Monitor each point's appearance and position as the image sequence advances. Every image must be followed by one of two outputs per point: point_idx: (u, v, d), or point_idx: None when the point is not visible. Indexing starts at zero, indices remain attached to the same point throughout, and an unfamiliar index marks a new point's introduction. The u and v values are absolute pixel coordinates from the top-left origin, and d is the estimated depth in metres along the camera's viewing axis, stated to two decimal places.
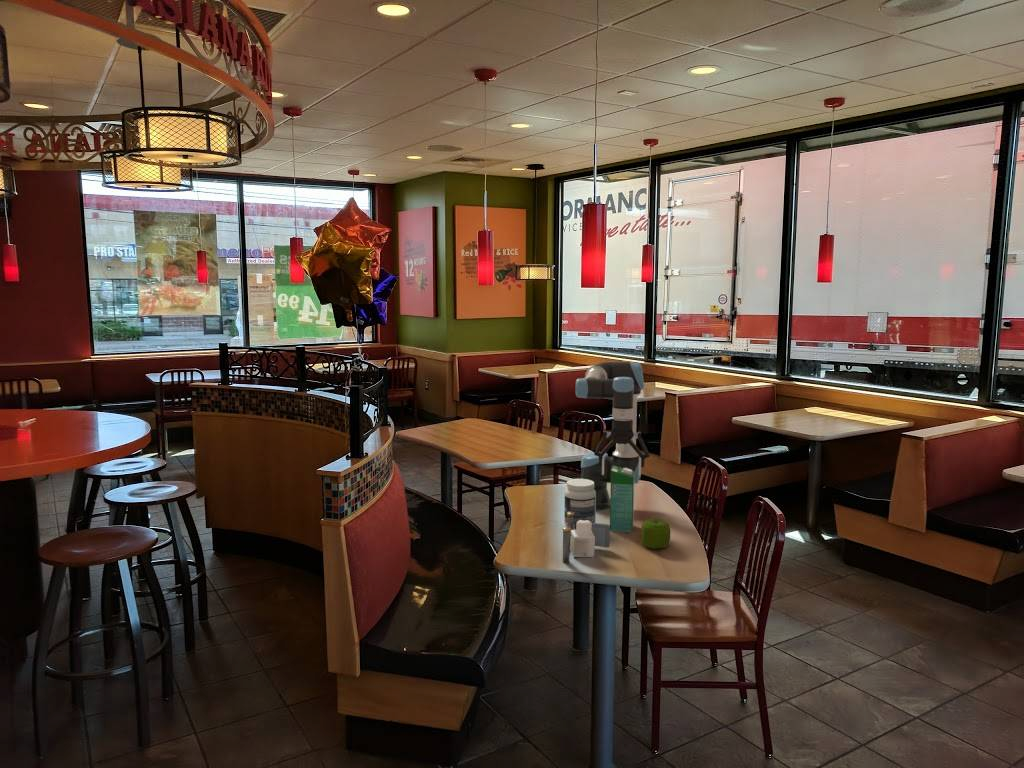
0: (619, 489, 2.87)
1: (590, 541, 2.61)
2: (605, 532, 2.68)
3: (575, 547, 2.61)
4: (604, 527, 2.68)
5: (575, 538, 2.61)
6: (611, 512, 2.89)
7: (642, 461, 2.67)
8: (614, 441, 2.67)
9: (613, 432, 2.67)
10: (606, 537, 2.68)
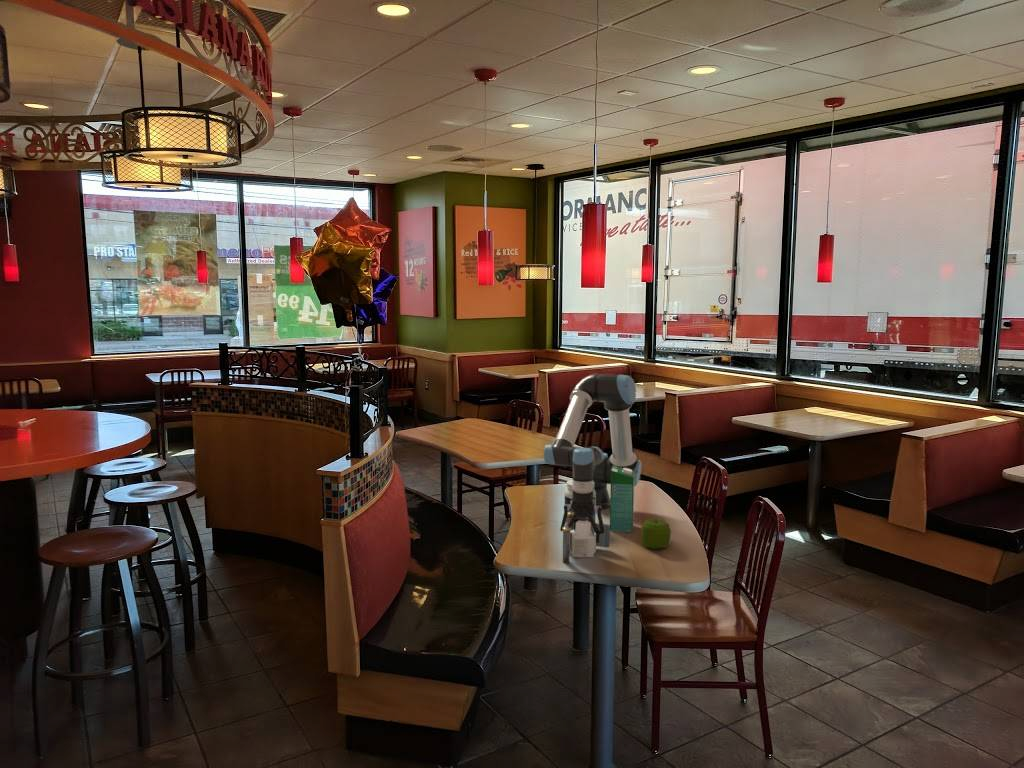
0: (619, 489, 2.87)
1: (590, 542, 2.61)
2: (605, 532, 2.68)
3: (575, 547, 2.61)
4: (604, 527, 2.68)
5: (574, 538, 2.61)
6: (611, 512, 2.89)
7: (597, 537, 2.63)
8: (576, 514, 2.62)
9: (573, 504, 2.63)
10: (606, 537, 2.68)
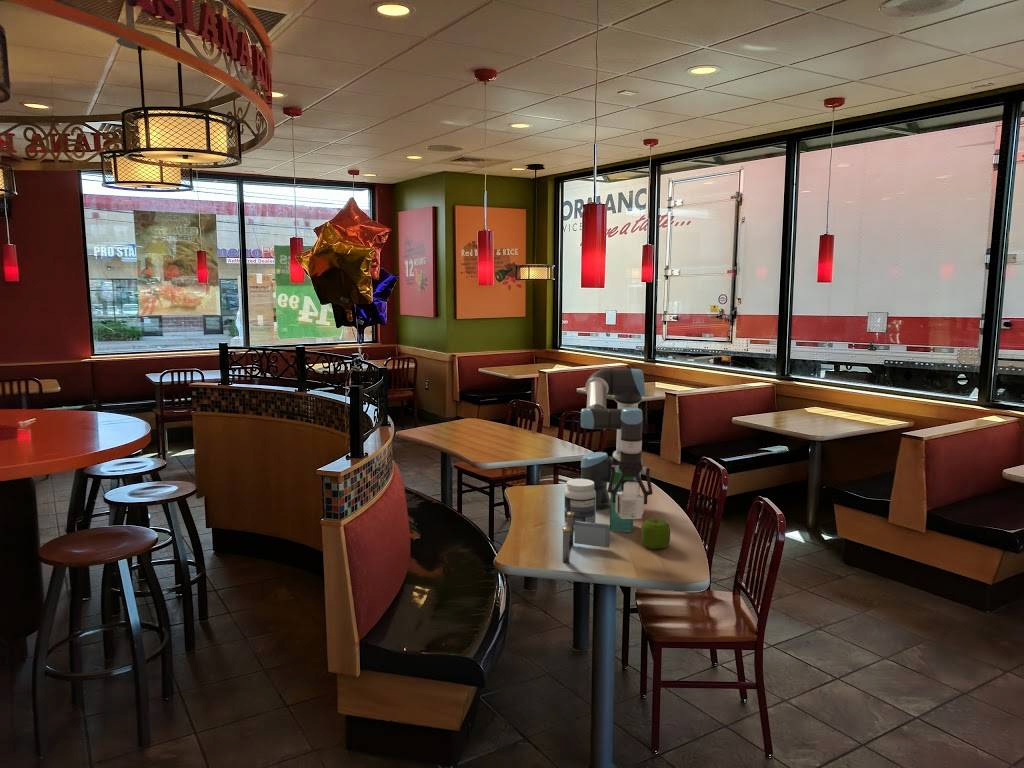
0: (619, 489, 2.87)
1: (638, 503, 2.57)
2: (605, 532, 2.68)
3: (623, 509, 2.57)
4: (604, 527, 2.68)
5: (623, 500, 2.57)
6: (611, 512, 2.89)
7: (645, 498, 2.59)
8: (624, 475, 2.58)
9: (621, 465, 2.59)
10: (606, 537, 2.68)
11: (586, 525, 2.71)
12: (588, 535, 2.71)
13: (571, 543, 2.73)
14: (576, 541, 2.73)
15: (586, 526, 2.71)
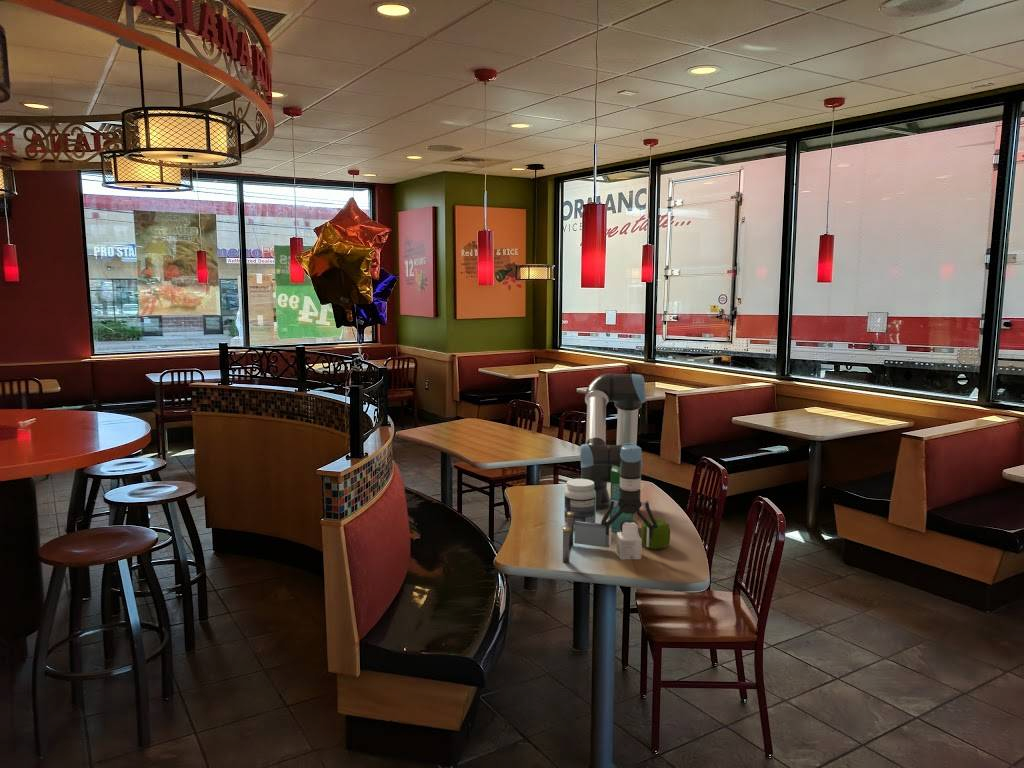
0: (619, 489, 2.87)
1: (637, 544, 2.60)
2: (605, 532, 2.68)
3: (622, 550, 2.60)
4: (604, 527, 2.68)
5: (621, 540, 2.59)
6: (611, 512, 2.89)
7: (650, 531, 2.61)
8: (621, 511, 2.60)
9: (620, 502, 2.61)
10: (606, 537, 2.68)
11: (586, 525, 2.71)
12: (588, 535, 2.71)
13: (571, 543, 2.73)
14: (576, 541, 2.73)
15: (586, 526, 2.71)
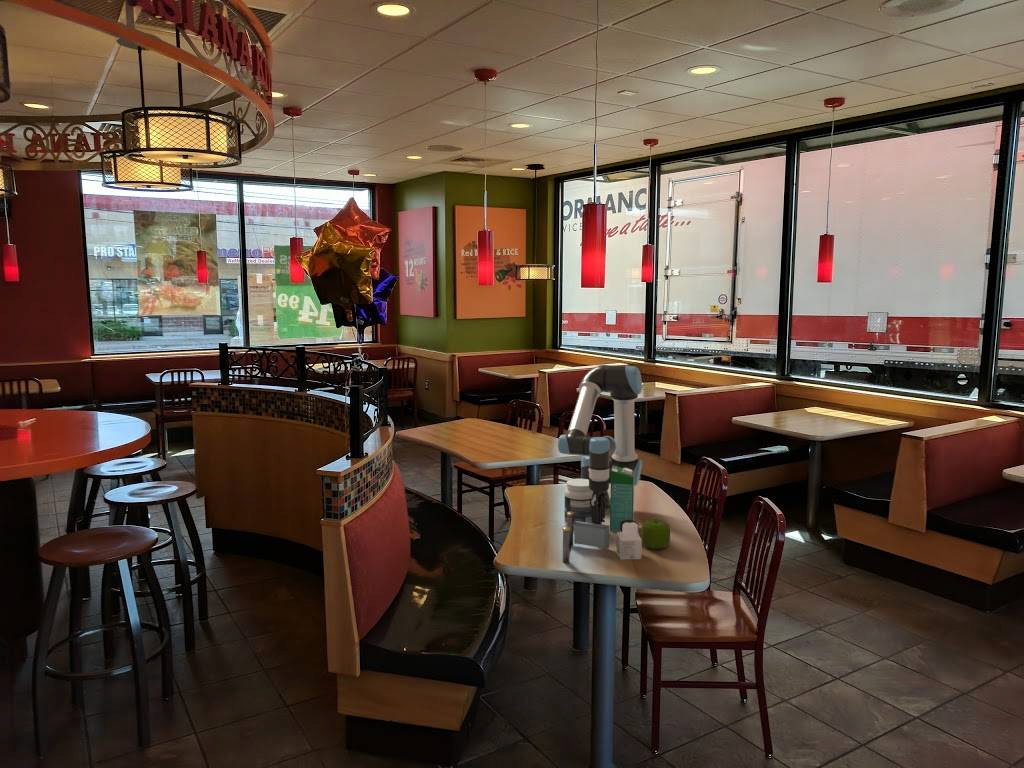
0: (619, 489, 2.87)
1: (637, 544, 2.60)
2: (605, 533, 2.68)
3: (622, 550, 2.60)
4: (603, 528, 2.67)
5: (621, 540, 2.59)
6: (611, 512, 2.89)
7: None
8: None
9: None
10: (605, 538, 2.68)
11: (585, 525, 2.70)
12: (587, 535, 2.70)
13: (571, 543, 2.73)
14: (576, 541, 2.73)
15: (586, 526, 2.70)
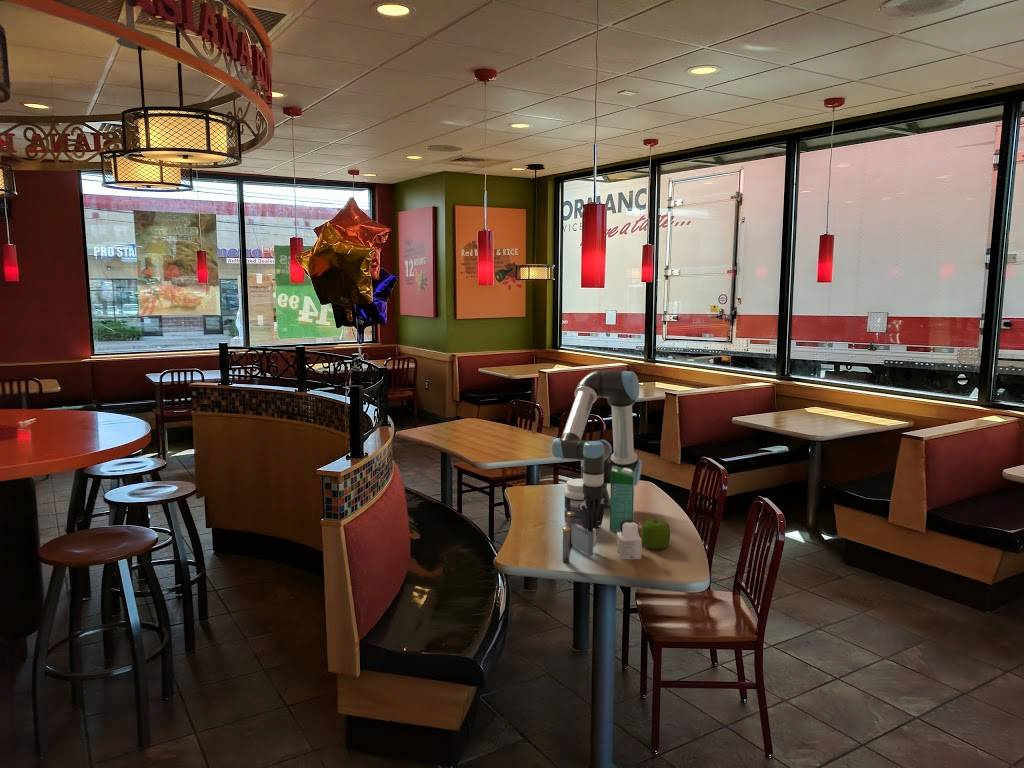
0: (619, 489, 2.87)
1: (637, 544, 2.60)
2: (588, 540, 2.61)
3: (622, 550, 2.60)
4: (587, 534, 2.61)
5: (621, 540, 2.59)
6: (611, 512, 2.89)
7: None
8: None
9: None
10: (588, 544, 2.61)
11: (577, 528, 2.67)
12: (578, 538, 2.67)
13: None
14: (572, 542, 2.72)
15: (577, 529, 2.67)
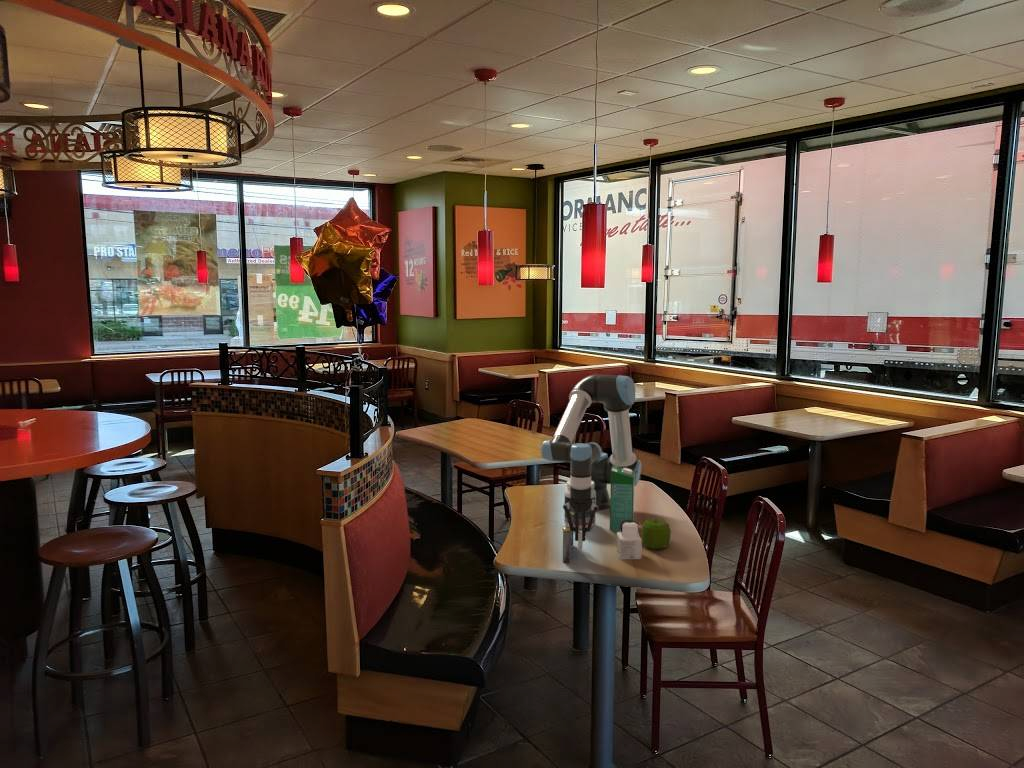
0: (619, 489, 2.87)
1: (637, 544, 2.60)
2: None
3: (622, 550, 2.60)
4: None
5: (621, 540, 2.59)
6: (611, 512, 2.89)
7: None
8: None
9: None
10: None
11: None
12: None
13: None
14: None
15: None
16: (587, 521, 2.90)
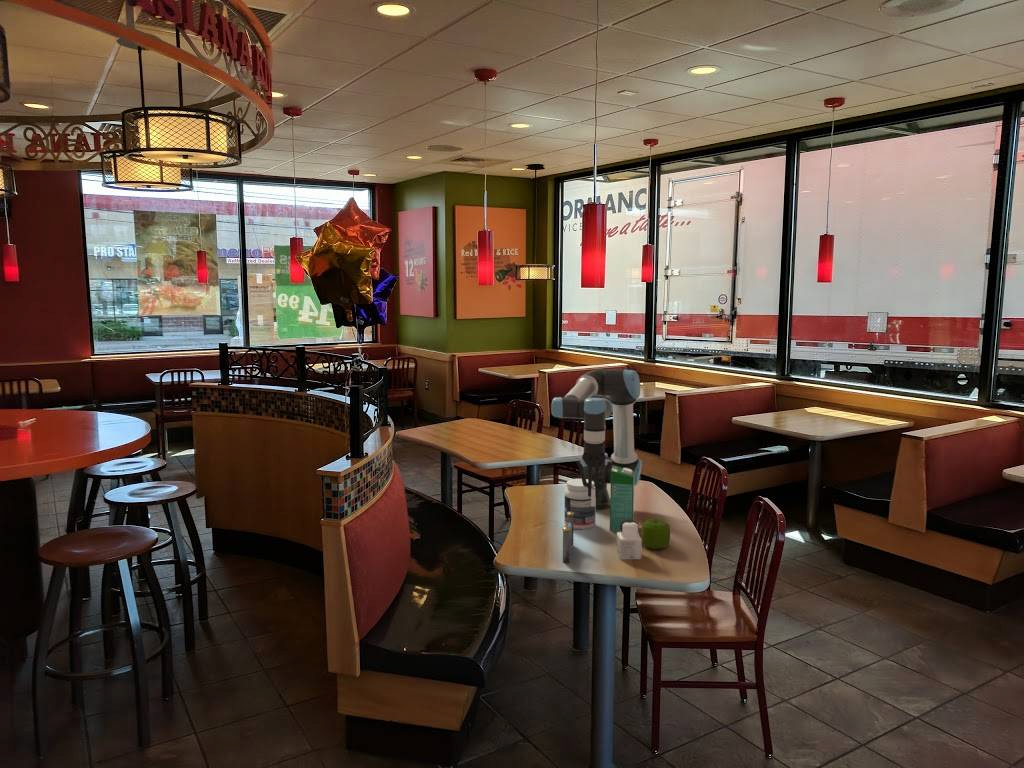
0: (619, 489, 2.87)
1: (637, 544, 2.60)
2: None
3: (622, 550, 2.60)
4: None
5: (621, 540, 2.59)
6: (611, 512, 2.89)
7: None
8: None
9: None
10: None
11: None
12: None
13: None
14: None
15: None
16: (587, 521, 2.90)
